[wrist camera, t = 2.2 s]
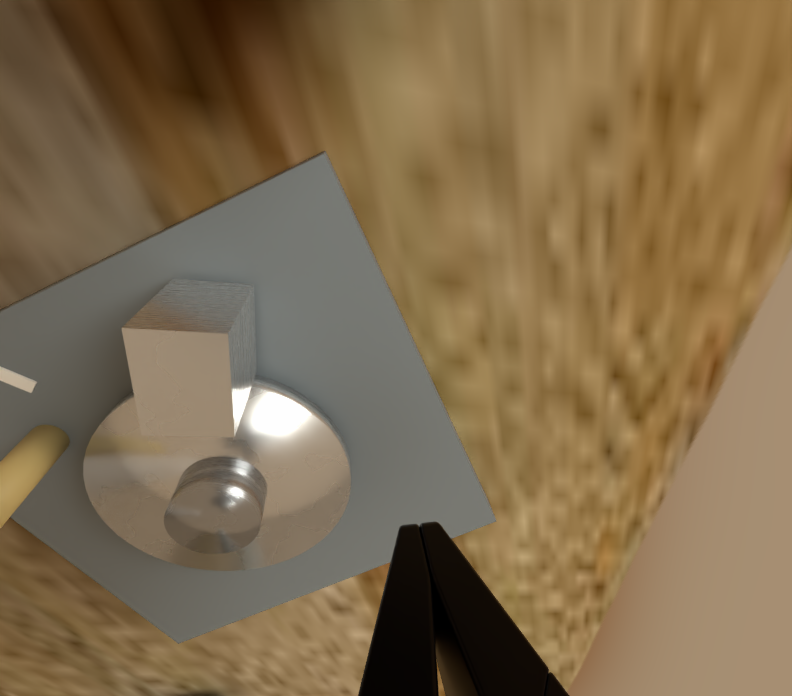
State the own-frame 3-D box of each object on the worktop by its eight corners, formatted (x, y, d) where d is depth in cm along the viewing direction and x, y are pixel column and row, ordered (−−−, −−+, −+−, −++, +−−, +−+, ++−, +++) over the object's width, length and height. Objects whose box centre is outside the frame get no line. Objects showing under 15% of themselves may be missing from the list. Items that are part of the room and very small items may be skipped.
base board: (324, 150, 17) (318, 165, 12) (488, 501, 27) (524, 593, 22) (-125, 371, 19) (-304, 468, 14) (185, 620, 29) (151, 729, 24)
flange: (232, 250, 16) (198, 291, 13) (392, 502, 24) (403, 579, 20) (-34, 376, 18) (-142, 451, 14) (196, 581, 25) (169, 668, 21)
